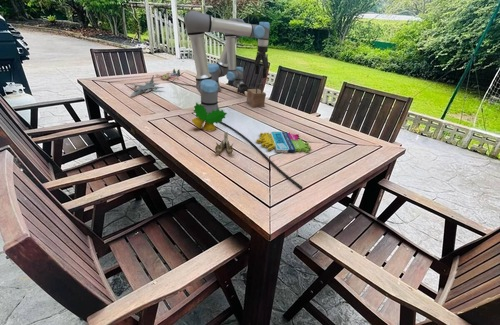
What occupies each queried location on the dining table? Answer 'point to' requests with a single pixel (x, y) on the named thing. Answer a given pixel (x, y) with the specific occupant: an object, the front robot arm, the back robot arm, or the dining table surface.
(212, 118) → the ornament
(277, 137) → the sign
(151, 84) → the airplane
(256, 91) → the lid
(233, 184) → the dining table surface
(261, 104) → the chest
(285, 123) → the dining table surface
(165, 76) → the toy
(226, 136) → the jawbone
